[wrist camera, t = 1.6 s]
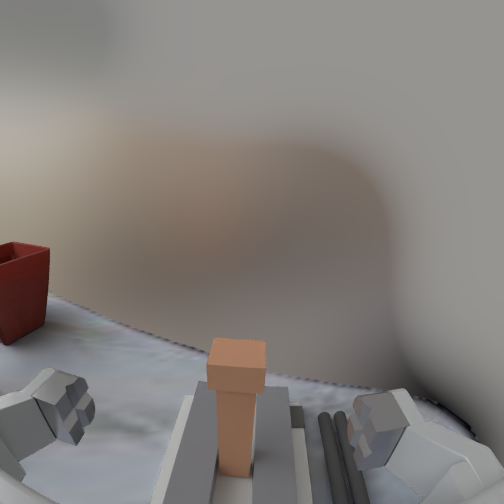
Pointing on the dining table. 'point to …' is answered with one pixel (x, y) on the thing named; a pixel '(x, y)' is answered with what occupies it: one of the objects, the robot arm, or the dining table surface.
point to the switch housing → (262, 455)
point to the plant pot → (22, 289)
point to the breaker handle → (236, 398)
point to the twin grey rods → (335, 465)
